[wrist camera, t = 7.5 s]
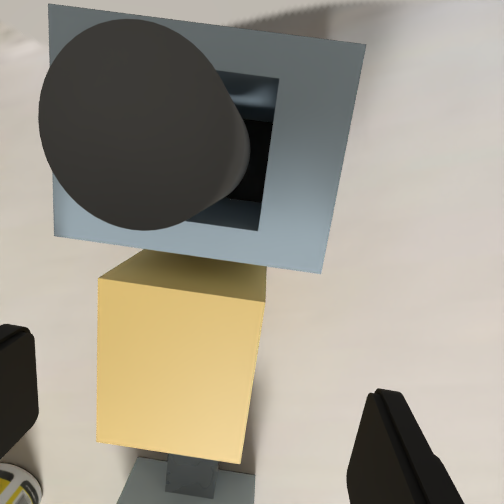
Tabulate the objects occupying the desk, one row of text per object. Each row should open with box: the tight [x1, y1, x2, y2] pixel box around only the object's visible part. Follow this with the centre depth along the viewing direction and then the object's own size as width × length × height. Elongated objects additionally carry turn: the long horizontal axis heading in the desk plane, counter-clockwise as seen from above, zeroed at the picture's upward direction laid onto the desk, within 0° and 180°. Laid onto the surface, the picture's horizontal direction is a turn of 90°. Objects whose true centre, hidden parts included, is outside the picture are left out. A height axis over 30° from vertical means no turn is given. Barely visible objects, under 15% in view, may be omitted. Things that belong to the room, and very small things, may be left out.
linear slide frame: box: [48, 4, 366, 504], centre depth 15 cm, size 8×29×9 cm, turn 172°
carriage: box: [96, 249, 267, 464], centre depth 14 cm, size 5×6×8 cm
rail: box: [165, 453, 220, 499], centre depth 18 cm, size 3×17×2 cm, turn 172°
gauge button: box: [38, 19, 250, 231], centre depth 7 cm, size 3×3×4 cm
